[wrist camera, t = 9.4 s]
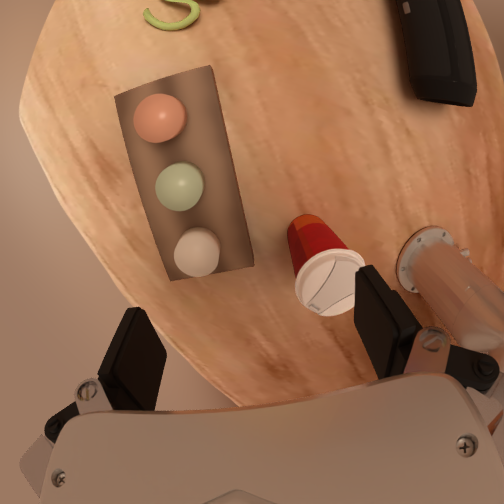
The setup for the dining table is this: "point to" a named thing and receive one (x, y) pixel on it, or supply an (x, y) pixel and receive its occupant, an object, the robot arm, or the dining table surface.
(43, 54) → the dining table surface
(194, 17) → the figurine
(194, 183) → the sage button
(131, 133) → the switch board
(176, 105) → the terracotta button
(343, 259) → the paper cup
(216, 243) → the cream button
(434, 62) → the portable speaker
